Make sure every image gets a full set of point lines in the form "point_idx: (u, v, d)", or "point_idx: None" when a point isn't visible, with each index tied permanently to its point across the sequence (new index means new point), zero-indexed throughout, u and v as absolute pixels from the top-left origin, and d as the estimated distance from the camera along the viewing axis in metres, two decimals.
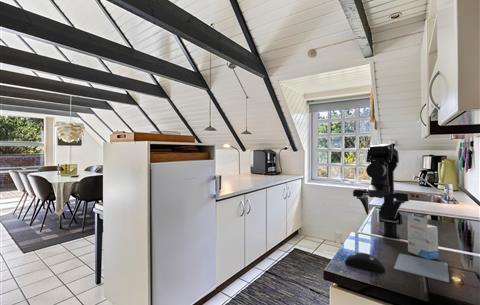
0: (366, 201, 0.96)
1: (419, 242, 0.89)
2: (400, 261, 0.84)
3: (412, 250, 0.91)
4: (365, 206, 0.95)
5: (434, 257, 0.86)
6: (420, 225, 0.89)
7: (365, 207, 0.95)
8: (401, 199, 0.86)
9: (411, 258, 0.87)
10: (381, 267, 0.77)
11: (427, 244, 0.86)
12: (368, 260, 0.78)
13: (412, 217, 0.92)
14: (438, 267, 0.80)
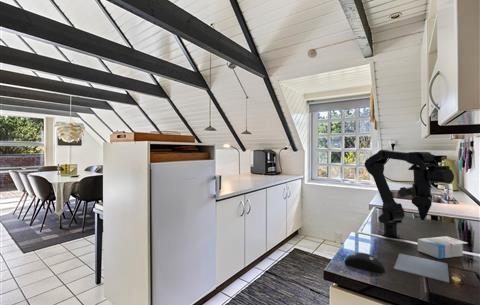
0: None
1: (440, 241, 0.91)
2: (400, 261, 0.84)
3: (425, 240, 0.93)
4: None
5: (440, 253, 0.87)
6: (454, 241, 0.92)
7: None
8: None
9: (411, 258, 0.87)
10: (381, 267, 0.77)
11: (449, 244, 0.88)
12: (368, 260, 0.78)
13: (450, 238, 0.95)
14: (438, 267, 0.80)
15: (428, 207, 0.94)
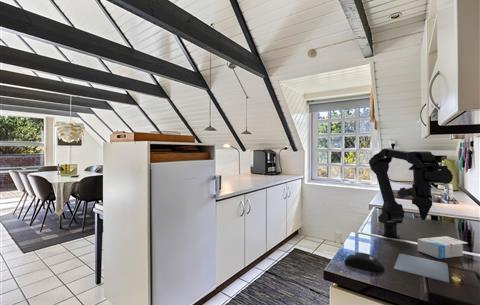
0: None
1: (440, 241, 0.91)
2: (400, 261, 0.84)
3: (425, 240, 0.93)
4: None
5: (440, 253, 0.87)
6: (454, 241, 0.92)
7: None
8: (412, 202, 0.93)
9: (411, 258, 0.87)
10: (380, 267, 0.77)
11: (449, 244, 0.88)
12: (367, 260, 0.79)
13: (450, 238, 0.95)
14: (438, 267, 0.80)
15: (429, 207, 0.93)
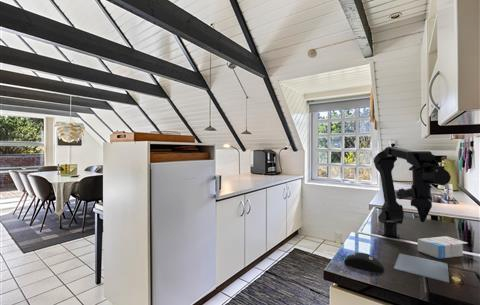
0: None
1: (440, 241, 0.91)
2: (400, 261, 0.84)
3: (425, 240, 0.93)
4: None
5: (440, 253, 0.87)
6: (454, 241, 0.92)
7: None
8: (411, 203, 0.90)
9: (411, 258, 0.87)
10: (380, 267, 0.77)
11: (449, 244, 0.88)
12: (367, 260, 0.79)
13: (450, 238, 0.95)
14: (438, 267, 0.80)
15: (428, 208, 0.90)
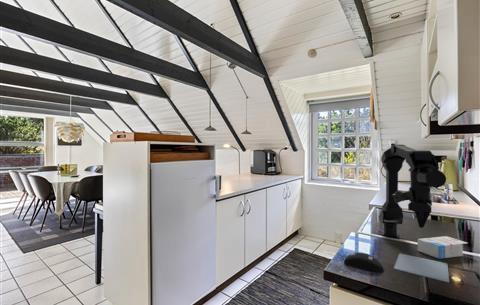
0: None
1: (440, 241, 0.91)
2: (400, 261, 0.84)
3: (425, 240, 0.93)
4: None
5: (440, 253, 0.87)
6: (454, 241, 0.92)
7: None
8: None
9: (411, 258, 0.87)
10: (380, 267, 0.77)
11: (449, 244, 0.88)
12: (367, 260, 0.79)
13: (450, 238, 0.95)
14: (438, 267, 0.80)
15: (428, 213, 0.83)
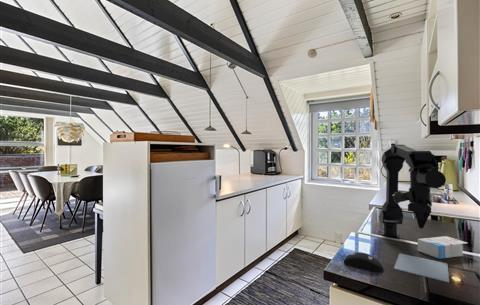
0: None
1: (440, 241, 0.91)
2: (400, 261, 0.84)
3: (425, 240, 0.93)
4: None
5: (440, 253, 0.87)
6: (454, 241, 0.92)
7: None
8: None
9: (411, 258, 0.87)
10: (380, 266, 0.77)
11: (449, 244, 0.88)
12: (367, 260, 0.79)
13: (450, 238, 0.95)
14: (438, 267, 0.80)
15: (427, 214, 0.82)
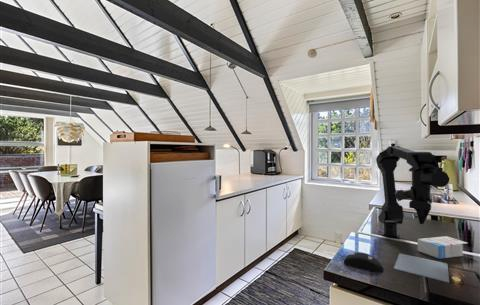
0: None
1: (440, 241, 0.91)
2: (400, 261, 0.84)
3: (425, 240, 0.93)
4: None
5: (440, 253, 0.87)
6: (454, 241, 0.92)
7: None
8: None
9: (411, 258, 0.87)
10: (379, 266, 0.78)
11: (449, 244, 0.88)
12: (366, 259, 0.79)
13: (450, 238, 0.95)
14: (438, 267, 0.80)
15: (427, 211, 0.89)
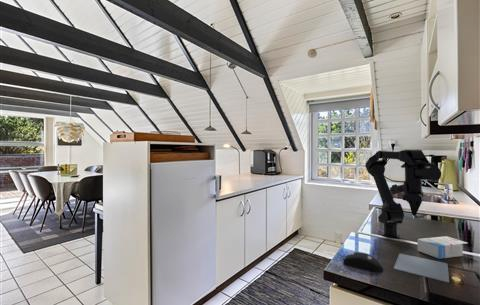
0: None
1: (440, 241, 0.91)
2: (400, 261, 0.84)
3: (425, 240, 0.93)
4: None
5: (440, 253, 0.87)
6: (454, 241, 0.92)
7: None
8: None
9: (411, 258, 0.87)
10: (379, 266, 0.78)
11: (449, 244, 0.88)
12: (366, 259, 0.79)
13: (450, 238, 0.95)
14: (438, 267, 0.80)
15: (419, 203, 0.97)
